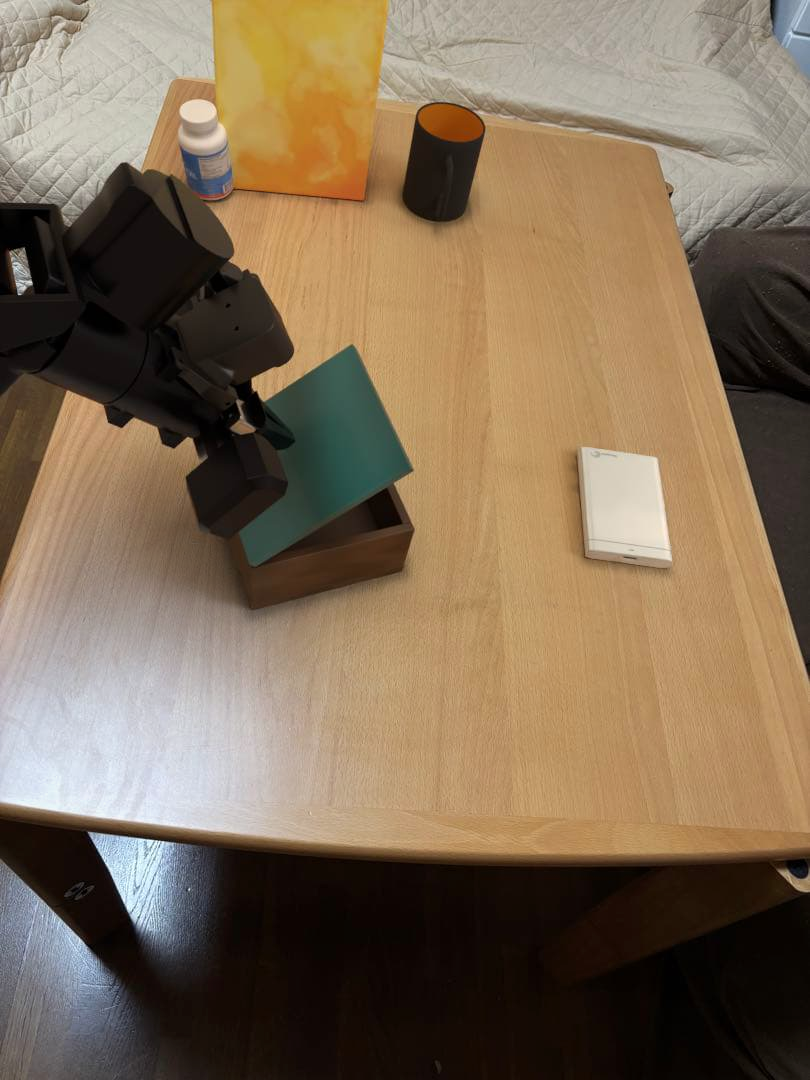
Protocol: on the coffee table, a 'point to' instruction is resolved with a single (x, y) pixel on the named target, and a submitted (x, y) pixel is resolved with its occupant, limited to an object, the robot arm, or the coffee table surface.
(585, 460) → the hard drive
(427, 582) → the coffee table surface
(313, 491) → the lid
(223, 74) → the mottled yellow carton
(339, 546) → the box
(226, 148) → the pill bottle
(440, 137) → the mug
